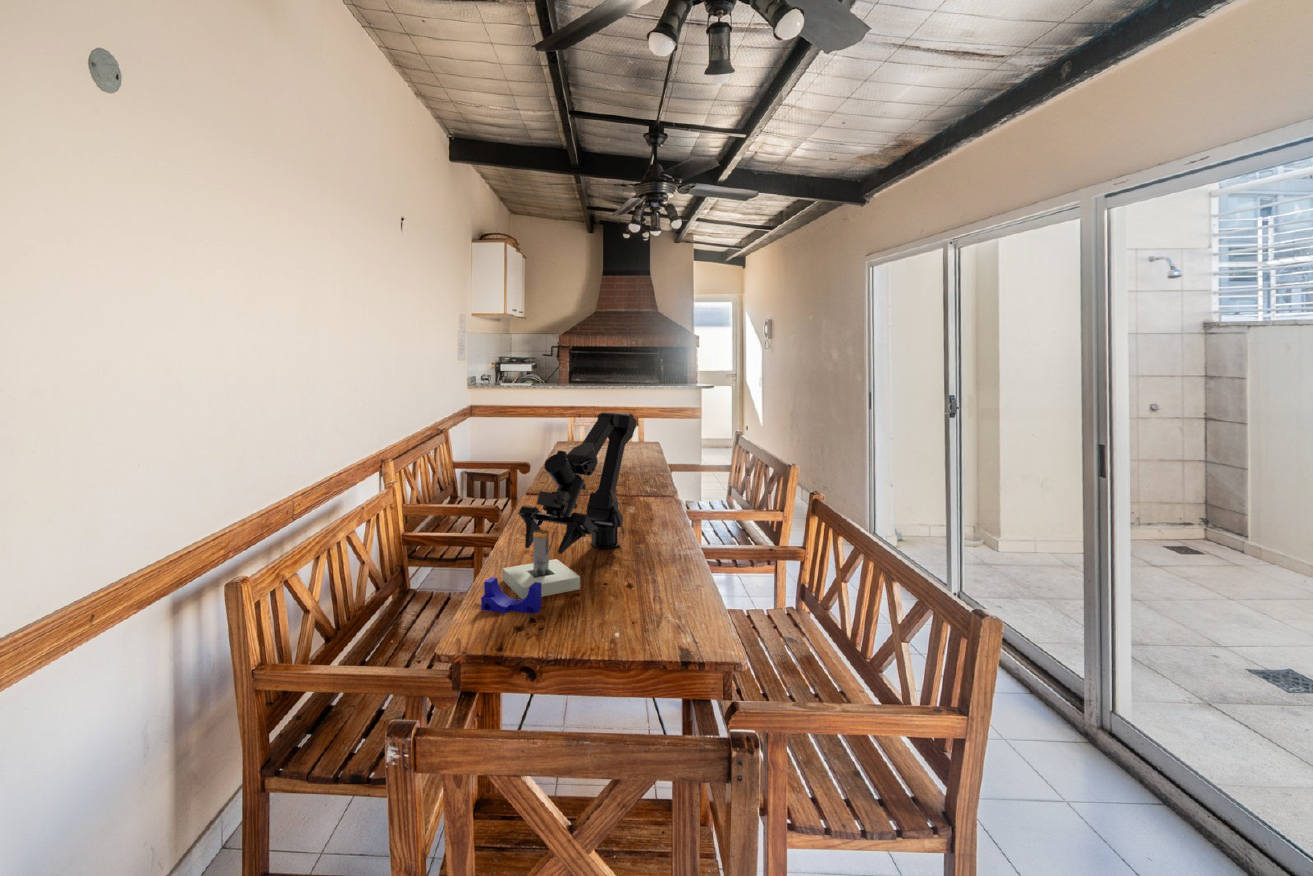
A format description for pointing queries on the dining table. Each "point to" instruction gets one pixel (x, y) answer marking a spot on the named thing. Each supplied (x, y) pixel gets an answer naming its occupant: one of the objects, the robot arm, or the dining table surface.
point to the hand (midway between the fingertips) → (542, 550)
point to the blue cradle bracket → (510, 599)
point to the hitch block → (541, 579)
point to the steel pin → (540, 553)
